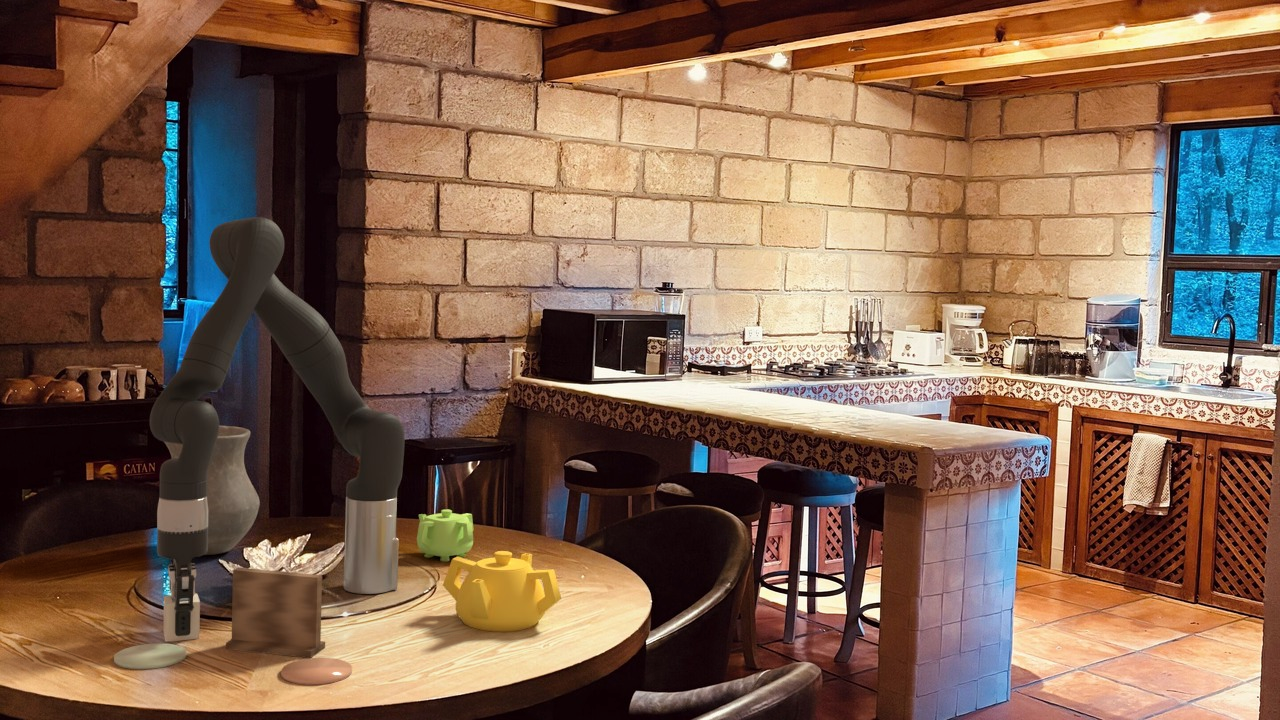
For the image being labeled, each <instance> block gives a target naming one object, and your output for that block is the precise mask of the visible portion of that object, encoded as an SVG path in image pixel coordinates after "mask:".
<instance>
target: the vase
mask: <svg viewBox="0 0 1280 720" xmlns="http://www.w3.org/2000/svg"><path fill="white" fill-rule="evenodd" d="M250 437H251V431H250V430H249V429H247V428H244V427H240V426H239V427H238V426H234V425H233V426H230V425H229V426H228V425H219V433H218V437H217V440H216V444H215V447H214V450H213V454H212V457H211V461H210V464H209V467H208V471H207V504H208V551H207V553H206V554H204V555H203V556H211V555H214V556H215V555H220V554H223V553H227V552H229V551H231V550H232V549H234V547H235V546H236V545H237V544H239V542H240V541H242V539H243V538H245V536H246V535H247V533H248V532H249V531H250V529H251V528H252V526H253V525H254V523H255V520H256V518H257V516H258V513H259V510H260V497H259V495H258V493H257V491H256V489H255V487H254V485H253V484H252V482H251V480H250V478H249V476H248V474H247V469H246V466H245V450H246V448H247V447H246V446H247V444H248V441H249V438H250ZM164 444H165V445H166V447H167V449H168V450H169V453H170V457H171V458H170V459H174V458H179V456H180V453H181V451H182V447H183V444H178V443H169V442H164ZM158 505H159V501H158V503H157V506H158ZM157 513H158V509H157V510H156V514H157Z"/></svg>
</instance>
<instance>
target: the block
mask: <svg viewBox="0 0 1280 720" xmlns="http://www.w3.org/2000/svg"><path fill="white" fill-rule="evenodd" d="M185 603H188V598H181V599H180V603H179V604H185ZM193 605H194V608H193V611H192V612H191V622H190V634H189V635H186V636H176V634H175V611H174V607H175V599H174V598H172V597H171V594H169V595H164V596H163V630H162V631H163V636H164V642H166V643H167V642H176V641H177V642H178V641H186V640H198V639H200V628H201V627H200V621H201V620H200V618H201V617H200V616H201V612H200V611H201V601H200V597H199V595H198V593H196V592H195V594H194V596H193Z"/></svg>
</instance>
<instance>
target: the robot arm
mask: <svg viewBox="0 0 1280 720" xmlns="http://www.w3.org/2000/svg"><path fill="white" fill-rule="evenodd" d="M208 243H209V244H208V246H209V251H210V255H211V256H212V259H213V261H214V263H215V265H216V266H217V268H218V270H220V271H221V272H222V274H223V275H224V277H225V278H226V279H227V283H226V284H225V286H224V288H223V289H222V291H221V293H220V294H219V295H218V297H217V299H216V300H215V301H214V303H213V304H212V306H211V307H210V308H209V309H208V310H207V311H206V313H205V314H204V316H203V317H202V318H201V320H200V321H199V322H198V324H197V326H196V328H195V329H194V331H193V332H192V335H191V337H190V340H189V342H188V345H187V347H186V350H185V352H184V355H183V358H182V360H181V363H180V366H179V368H178V369H177V371H176V373H175V374H174V375H173V376H172V377H171V378H170V380H169V381H168V383H167V385H166V386H165V387H164V389H163V390H162V392H161V393H160V395H159V396H158V397H157V399H156V400H155V402H154V403H153V406H152V408H151V411H150V415H149V428H150V431H151V433H152V435H153V437H154V438H156V439H157V440H158V441H161V442H163V443H165V442H169V443H178V444H183V447H182V451H181V453H180V456H179V458H174V459H172V458H169V459H166V460H165V461H163V463H162V464H161V466H160V468H159V497H158V502H159V505H158V504H157V510H158V513H157V512H156V518H157V519H156V520H157V521H156V522H157V523H156V524H157V525H156V526H157V528H156V529H157V530H156V554H157V555H158V556H159V557H161V558H164V559H167V560H170V564H168V567H167V573H168V579H169V580H168V581H169V583H168V587H169V591H170V593H171V594H170V595H171V597H172V598H174V599H175V607H174V611H175V634H176V636H186V635H189V634H190V622H191V612H192V611H193V608H194V605H193V596H194V594H195V593H196V583H195V582H196V577H197V567H196V564H195V563H192V559H194V558H199V557H202V556H205V555H204V554H206V553H207V551H208V504H207V471H208V467H209V464H210V461H211V457H212V454H213V450H214V447H215V444H216V440H217V437H218V433H219V426H220V419H219V415H218V413H217V410H216V409H215V408H214V406H213V405H212V404H210V403H209V402H208V401H207V402H206V401H203V400H198V399H199V398H200V397H201V396H202V395H204V394H207V393H211V392H216V391H218V390H219V389H221V387H223V384H224V381H225V379H226V376H227V373H228V371H229V369H230V366H231V363H232V360H233V357H234V354H235V351H236V349H237V346H238V343H239V341H240V339H241V336H242V333H243V332H244V330H245V327H246V326H247V323H248V321H249V319H250V318H251V316H252V313H253V312H254V313H255V314H256V316H257V317H258V319H259V320H260V321H261V323H262V324H263V326H264V327H265V329H266V330H267V331H268V333H269V334H270V335H271V337H272V338H273V340H274V341H275V343H276V344H277V347H278V348H279V349H280V351H281V352H282V354H283V356H284V357H285V359H286V360H287V361H288V363H289V364H290V365H291V368H293V370H294V371H295V372H296V374H297V375H298V377H299V378H300V379H301V381H302V383H303V384H304V385H305V387H306V388H307V390H308V391H309V393H310V394H311V395H312V396H313V398H314V400H316V402H317V403H318V404H319V406H320V408H321V409H322V411H323V413H324V415H325V417H326V418H327V420H328V422H329V423H330V424H329V425H330V426H331V428H332V429H333V431H334V433H335V436H336V437H337V439H338V441H339V443H340V444H341V445H342V448H343V449H344V450H345V451H347V453H349V455H351V456H353V457H356V458H358V459H359V467H358V473H357V475H356V477H354V478H352V479H350V480H348V481H347V483H346V488H345V527H344V529H345V530H344V531H345V532H344V561H343V563H344V567H343V570H344V571H343V589H344V590H345V591H347V592H349V593H354V594H359V595H360V594H363V595H364V594H365V595H370V594H371V595H372V594H374V595H375V594H381V593H387V592H389V591H395V590H397V591H398V580H399V579H398V578H399V577H398V576H399V575H398V574H399V547H400V546H399V544H400V543H399V538H397V510H398V509H397V504H398V503H397V502H398V498H397V497H398V488H399V486H400V484H401V481H402V478H403V469H404V468H403V467H404V456H405V430H404V427H403V424H402V422H401V420H400V419H399V418H398V417H397V416H396V415H394V414H393V413H389V412H385V411H381V410H376V409H375V410H374V409H372V408H371V407H369V405H368V404H367V403H366V402H365V401H364V399H363V398H362V397H361V395H360V394H359V392H358V391H357V389H355V386H354V385H353V383H352V380H351V379H350V376H349V370H348V365H347V359H346V354H345V351H344V348H343V346H342V343H341V342H340V341H339V339H338V337H337V336H336V334H335V333H334V331H333V330H332V328H331V327H330V325H329V323H328V322H327V320H326V319H325V318H324V317H323V316H322V314H320V313H319V312H318V311H317V310H316V309H315V308H314V307H312V306H311V305H310V304H309V303H307V302H306V301H304V299H302V298H301V297H299V296H298V295H297V294H295V293H294V292H292V291H291V290H290V289H289V288H287V286H285V285H284V283H282V282H281V281H280V280H279V278H278V277H277V276H276V274H275V272H276V270H277V268H278V266H279V265H280V262H281V260H282V257H283V256H284V252H285V238H284V235H283V232H282V230H281V229H280V227H279V226H278V225H277V224H276V222H274V221H273V220H271V219H269V218H266V217H254V216H253V217H248V218H243V219H242V218H241V219H235V220H231V221H227V222H223V223H221V224H218V225H217V226H216V227H215V228H214V229H213V230H212V231H211V234H210V236H209V242H208ZM181 598H188V603H185V604H179V603H180V599H181Z"/></svg>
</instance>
